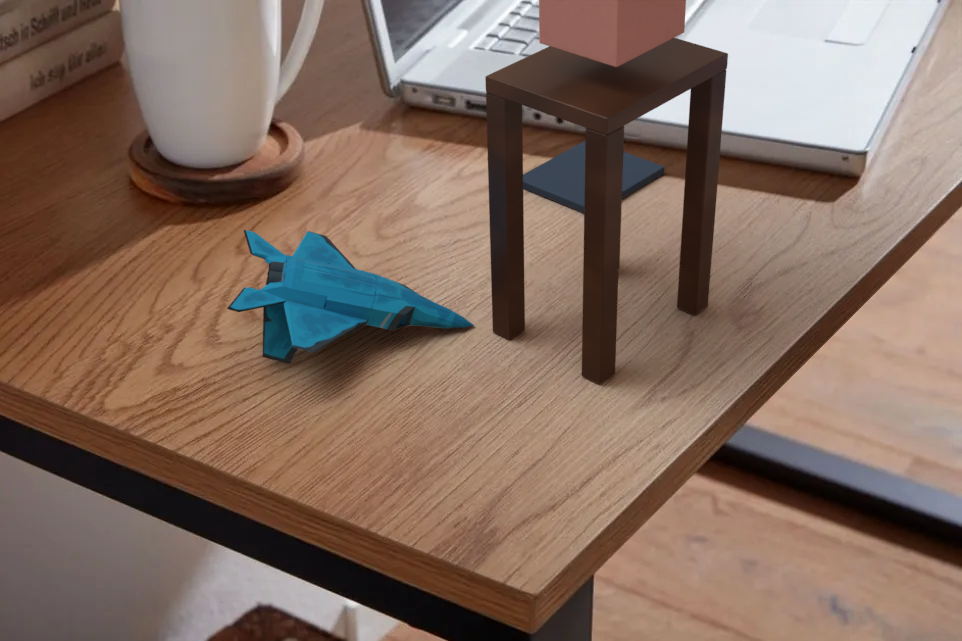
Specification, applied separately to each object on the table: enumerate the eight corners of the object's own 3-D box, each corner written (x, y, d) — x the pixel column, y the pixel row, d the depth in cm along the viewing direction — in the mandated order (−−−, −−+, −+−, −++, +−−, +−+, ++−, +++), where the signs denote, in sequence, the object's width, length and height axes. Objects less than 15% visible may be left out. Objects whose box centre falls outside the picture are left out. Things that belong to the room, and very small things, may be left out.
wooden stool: (708, 306, 69) (728, 53, 62) (600, 385, 64) (607, 118, 56) (602, 261, 73) (608, 17, 66) (492, 332, 68) (484, 75, 60)
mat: (664, 173, 82) (664, 166, 81) (592, 217, 78) (592, 209, 77) (588, 145, 85) (588, 138, 85) (515, 185, 81) (515, 178, 81)
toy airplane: (276, 415, 63) (267, 343, 60) (182, 322, 69) (171, 253, 67) (475, 328, 69) (474, 259, 66) (371, 250, 75) (367, 184, 73)
